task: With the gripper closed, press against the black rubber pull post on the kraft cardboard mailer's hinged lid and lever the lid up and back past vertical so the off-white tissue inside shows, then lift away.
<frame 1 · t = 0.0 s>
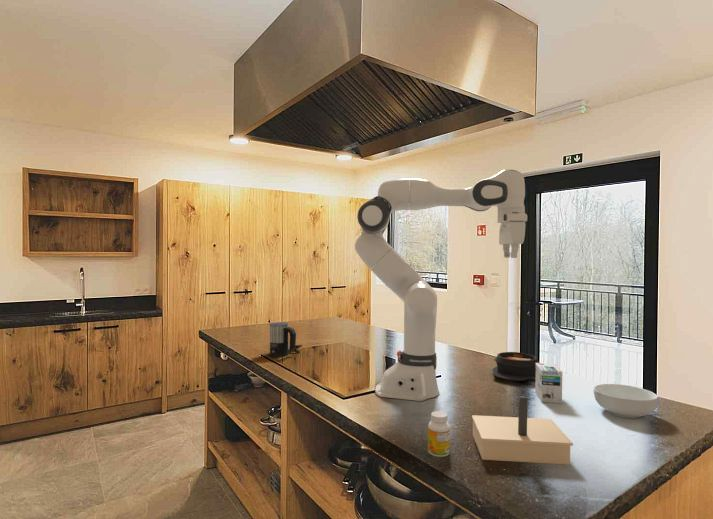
hand: (510, 257, 149), 48 cm above the counter, fingers open, 8 cm apart
light bulb box: (547, 398, 149), on the counter
casserole: (516, 377, 174), on the counter
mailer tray: (517, 450, 109), on the counter
milk frother: (285, 353, 211), on the counter
mailer lid: (518, 411, 109), point 10 cm above the counter, hinge at 0.0°
supplement bottle: (438, 453, 107), on the counter
cereal bowl: (624, 414, 135), on the counter
tissue paper: (517, 448, 109), resting on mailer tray
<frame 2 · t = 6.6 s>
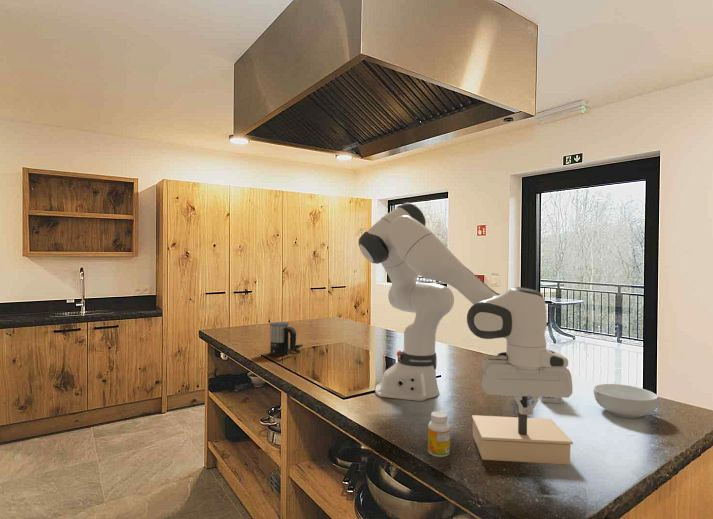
hand: (525, 413, 103), 11 cm above the counter, fingers closed, pressing on mailer lid
mailer lid: (518, 410, 109), point 10 cm above the counter, hinge at 1.2°, touching gripper
everything else where it was.
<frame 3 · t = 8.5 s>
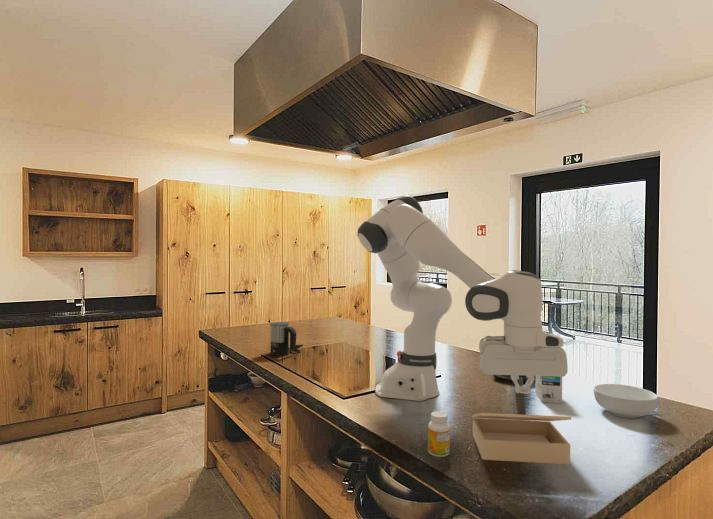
hand: (522, 392, 106), 15 cm above the counter, fingers closed, pressing on mailer lid
mailer lid: (516, 398, 111), point 12 cm above the counter, hinge at 22.9°, touching gripper
everything else where it was.
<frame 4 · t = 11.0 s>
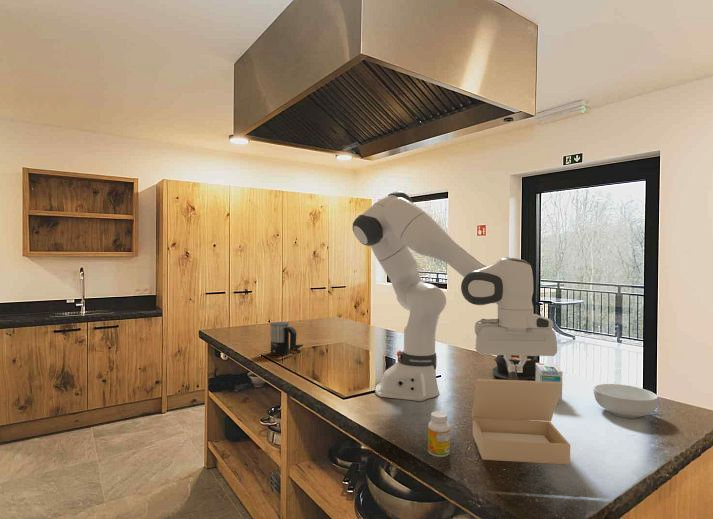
hand: (515, 371, 114), 18 cm above the counter, fingers closed
mailer lid: (511, 386, 116), point 14 cm above the counter, hinge at 57.7°, touching gripper
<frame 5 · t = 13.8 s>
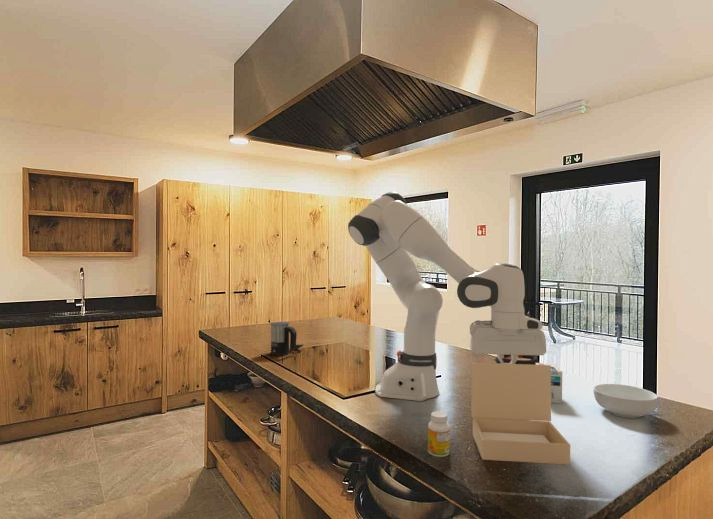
hand: (507, 370, 122), 17 cm above the counter, fingers closed, pressing on mailer lid
mailer lid: (506, 387, 121), point 12 cm above the counter, hinge at 94.0°, touching gripper
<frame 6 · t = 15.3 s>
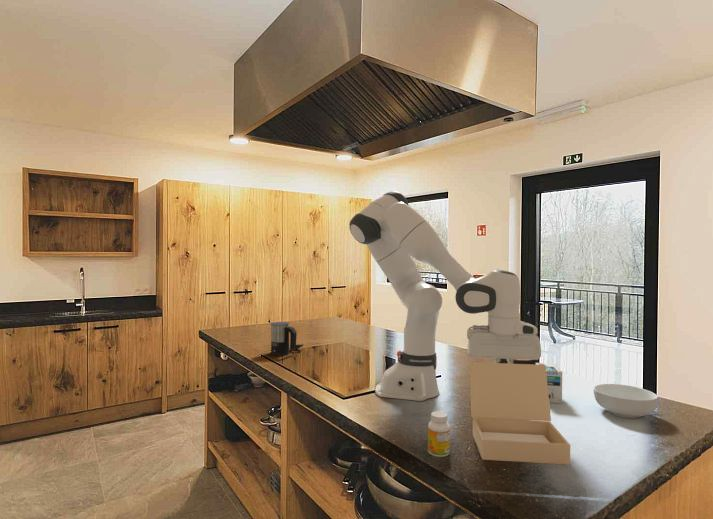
hand: (503, 373, 125), 15 cm above the counter, fingers closed, pressing on mailer lid
mailer lid: (505, 391, 123), point 10 cm above the counter, hinge at 109.9°, touching gripper
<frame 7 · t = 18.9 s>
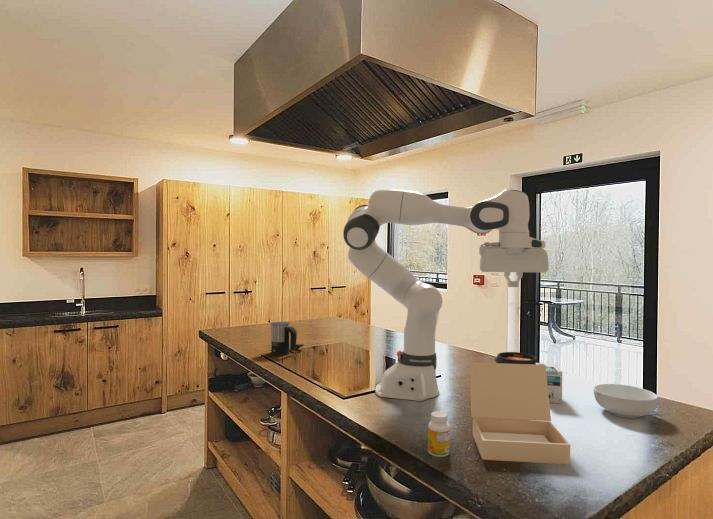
hand: (513, 286, 135), 39 cm above the counter, fingers closed
mailer lid: (505, 391, 123), point 10 cm above the counter, hinge at 110.0°
at the end: mailer lid at +110° (first picture: +0°); the gripper is holding nothing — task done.
